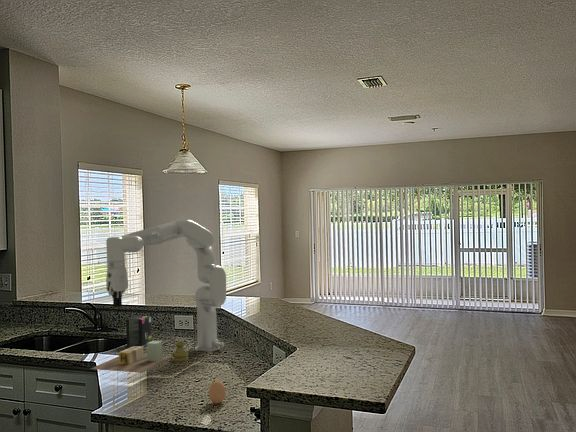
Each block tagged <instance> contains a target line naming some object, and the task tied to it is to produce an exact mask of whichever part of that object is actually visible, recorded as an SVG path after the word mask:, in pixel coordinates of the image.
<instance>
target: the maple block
mask: <svg viewBox="0 0 576 432" xmlns="http://www.w3.org/2000/svg"><path fill="white" fill-rule="evenodd" d="M144 354H145V353H144V347H141V346H133V347H127V348H126V349H124V350H121V351H119V352H118V357H119V364H130V363H132V362H135V361H137V360H139V359H141V358H143V357H144Z"/></svg>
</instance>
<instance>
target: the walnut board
mask: <svg viewBox="0 0 576 432" xmlns="http://www.w3.org/2000/svg"><path fill="white" fill-rule="evenodd" d="M143 354H144V357H143V358H141V359H139V360H137V361H135V362H132V363H130V364H119V356H116V357H114V358H112V359H110V360H108V361H105V362H103V363H100V364H98V365H96V366H92V367H91V368H89V370H99V371H114V372H126V373H139V374H143V373H144V372H147V371H149V370H150V369H152V368H155V367H157V366H158V365H160V364H162V363H165V362H166V361H168V360H170V359H172V358H173V357H172V355H165V354H162V359H161V360H159V361H147V353H143Z"/></svg>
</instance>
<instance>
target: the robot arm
mask: <svg viewBox="0 0 576 432" xmlns="http://www.w3.org/2000/svg"><path fill="white" fill-rule="evenodd" d="M180 238H185V240H186V243H187V245H188V246H189V247H191V248H192V249H193V251H194V252H195V253H196V258H197V260H196V261H197V265H196V267H197V279H198V281H199V282H201V283H203V284H207V285H202V286H200V287H198V288H197V289H196V290H195V293H194V299H195V305H196V306H195V307H196V314H197V315H196V316H197V317H196V318H197V322H196V323H197V345H196V346H195V347H194V350H195V351H197V352H198V351H199V352H216V351H219V350H220V349H221V348H224V347H225V342H223V341H220V340H219V339H218V336H217V335H218V332H217V330H218V328H217V326H218V325H217V324H218V323H217V309H216V308H219V307H221V306H223V305H224V304H225V302H226V299H227V273H226V271H225V269H224V267H222V266H221V265H217V264H215V263H216V262H215V253H214V249H213V247H212V246H213V244H214V243H215V236H214V234H213V232H211V231H210V230H209V229H207V228H205V227H203V226H202V225H200V224H199V223H198V222H195V221H193V220H192V219H176V220H173V221H170V222H166V223H163V224H160V225H156V226H153V227H149V228H145V229H141V230H137V231H134V232H130V233H126V234H124V235H121V236H110V237H108V238H107V239H106V242H105V243H106V244H105V245H106V266H107V267H106V268H107V269H106V281H105V282H106V285H105V286H106V291H107V292H108V295H109V296H111V298H112V303H113V305H112V306H113V308H122V306H123V303H122V302H123V301H122V300H123V299H122V297H123V294H124V293H125V292H126V290H128V288H129V280H128V279H129V277H128V272H127V267H126V253H138V252H140V251H141V250H143V248H144V247H145V246H157V245H161V244H164V243H165V244H166V243H168V242H170V241H174V240H176V239H180Z"/></svg>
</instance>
